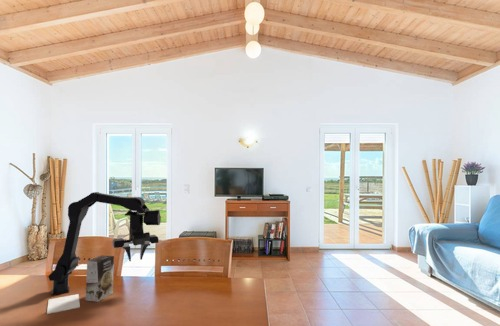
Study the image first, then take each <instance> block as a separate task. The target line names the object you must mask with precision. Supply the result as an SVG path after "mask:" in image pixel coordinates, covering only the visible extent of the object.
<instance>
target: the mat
mask: <svg viewBox="0 0 500 326" xmlns="http://www.w3.org/2000/svg"><path fill="white" fill-rule="evenodd" d="M80 307H81V305H80V296H79V293H77V294H71V295H70V294H69V295H65V296H60V297H55V298H54V297H53V298H50V299H48V302H47V309H46V315H50V314H54V313H60V312H64V311H68V310H74V309H80Z"/></svg>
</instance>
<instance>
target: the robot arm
mask: <svg viewBox="0 0 500 326" xmlns="http://www.w3.org/2000/svg"><path fill="white" fill-rule="evenodd" d="M96 203H102V204H108V205H114V206H121V207H123V208H125V209H127V212H126V213H125V214H124V216H126V217H127V216H129V231H128V232H129V234H128V235H129V236H128V237H129V238H128V239H124V238H123V237H121V238H113V239H112V242H111V243H112V245H111V246H112V247H113V249H117V248H118V249H119V248H122V249H123V250H124V251H125V252H126V255H127V258H128V262H132V259H131V258H132V257H131V256H132V255H131V246H130V244H131V245H132V244H133V246H139V245H140V253H139V259H140V260H143V257H144V254H145V251H146V249H147V248H148V247H149V246H151V244H158V243H159V237H158V236H157V235H156V234H151V233H150V232H149V231H147V232H146V231H144V225H145V226H160V225H161V222H162V221H161V219H162V216H161V212H160V209H156V210H153V209H151V210H150V209H149V208H148V206H147V205H146V201H145V200H144V198H143V197H142V196H129V197H128V196H127V197H125V196H119V195H113V194H107V193H101V192H99V191H94V192H91V193H90V194H88V195H86V196H85V197H83V198H81V199H80V200H78V201H74V202H71V203H70V204H69V205H68V208H67V217H68V221H69V223H68V227H67V228H68V229H67V233H66V238H65V242H64V247H63V251H62V254H61V256H60V257H59V259H58V261H57V263H56V265H55V268H54V270H53V271H52V272H51V273H50V274H49V275H48V279H49V281H51V282H52V289H51V291H50V292H51V296H54V295H60V294H66V293H67V294H68V293H70V286H69V281H70V280H69V279H70V278H69V276H70V275H72V273H73V271H74V270H75V269H76V268H77V267H78V266H79V261H80V256H77V255H76V250H77V247H78V243H79V242H78V241H79V236H80V232H81V227H82V223H83V220H84V219H85V218H86V216H87V213H88V211H89V209H90V207H92V206H94V205H95V204H96Z"/></svg>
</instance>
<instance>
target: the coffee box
mask: <svg viewBox="0 0 500 326" xmlns="http://www.w3.org/2000/svg"><path fill="white" fill-rule="evenodd" d="M114 260H115V255H98V256H97V257H94V258H91V259H88V260H87V261H86V277H85V278H86V281H85V301H89V302H97V303H99V302H100V301H102V300H104V299H105V298H107V297H109V296H111V295H113V293H114V266H115V265H114V264H115V261H114Z"/></svg>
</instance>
